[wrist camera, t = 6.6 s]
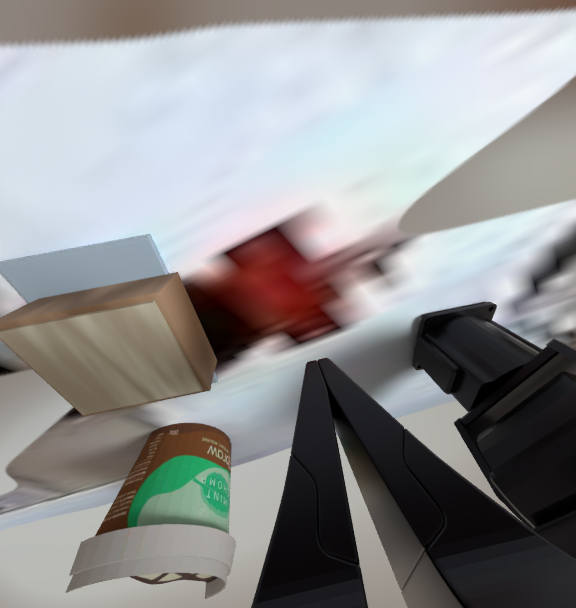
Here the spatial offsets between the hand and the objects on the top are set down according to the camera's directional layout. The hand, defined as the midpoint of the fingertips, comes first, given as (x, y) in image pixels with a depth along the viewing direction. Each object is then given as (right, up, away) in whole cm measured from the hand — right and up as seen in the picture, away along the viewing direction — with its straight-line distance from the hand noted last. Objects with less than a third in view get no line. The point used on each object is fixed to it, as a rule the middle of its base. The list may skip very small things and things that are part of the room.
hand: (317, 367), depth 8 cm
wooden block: (-8, 0, +6) cm, 10 cm away
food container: (-10, -12, +15) cm, 22 cm away
